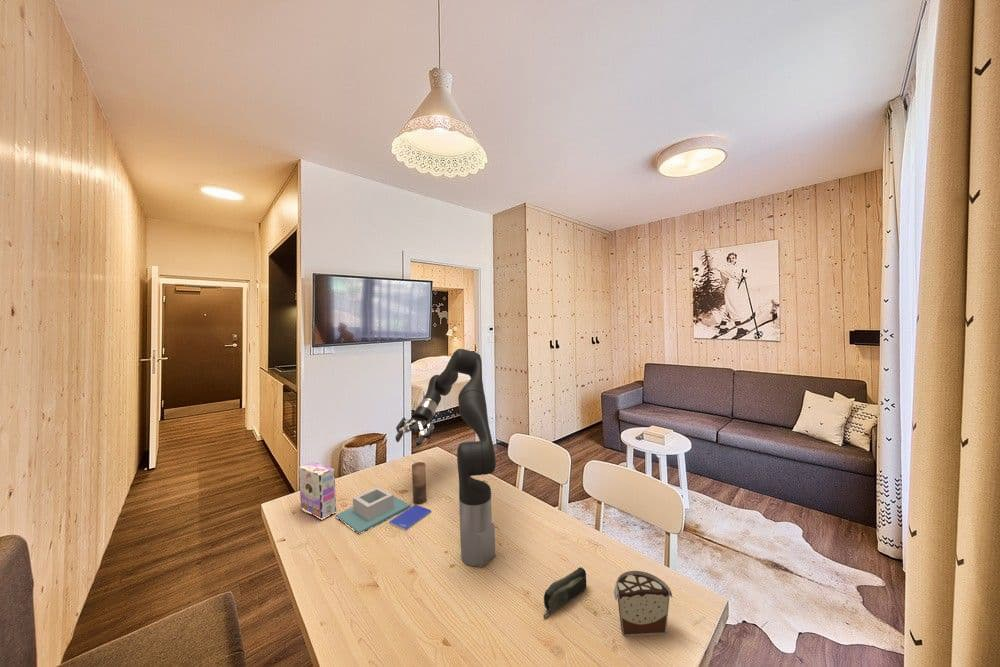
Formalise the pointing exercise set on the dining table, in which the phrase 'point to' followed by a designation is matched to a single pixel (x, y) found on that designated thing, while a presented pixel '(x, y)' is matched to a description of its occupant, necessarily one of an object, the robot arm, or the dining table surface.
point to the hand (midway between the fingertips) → (406, 442)
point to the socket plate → (372, 509)
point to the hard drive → (410, 517)
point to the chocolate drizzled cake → (642, 603)
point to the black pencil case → (564, 590)
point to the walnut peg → (419, 483)
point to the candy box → (317, 489)
